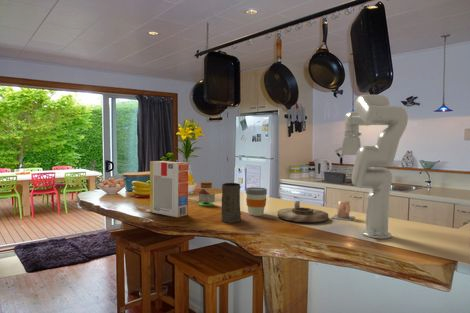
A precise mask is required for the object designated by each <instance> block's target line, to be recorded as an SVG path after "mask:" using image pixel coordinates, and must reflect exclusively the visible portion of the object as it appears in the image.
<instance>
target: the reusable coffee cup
mask: <svg viewBox="0 0 470 313" xmlns="http://www.w3.org/2000/svg"><path fill="white" fill-rule="evenodd" d="M267 191H268V189H267V188H265V187H258V186H257V187H253V186H252V187H246V188H245V195H246V198H245V202H246V206H247V214H248V215H250V216H254V217H255V216H256V217H258V216H263V215H264V213H265V207H266V204H267V194H268V192H267Z"/></svg>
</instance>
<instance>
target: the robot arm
mask: <svg viewBox="0 0 470 313" xmlns="http://www.w3.org/2000/svg"><path fill="white" fill-rule="evenodd" d="M354 105H355V106H354V107H355V111H349V112H347V113H346V114H345V115H344V137H342V141H341V147H339V148H337V149H334V152H335V154H336V156H338V158H339V164H340V165H341V166H343V157H344V156H355V159H354V163H353V169H352V173H351V183H352V185H353V186H354V187H355V188H360V189H361V188H362V189H370V190H369V192H368V194H367V196H366V209H365V211H366V212H365V214H366V215H365V229H363V230H361V234H362V236H364V237H368V238H372V239H378V240H379V239H380V240H381V239H383V240H385V239H387V240H388V239H390V238H392V233H390V232H389V215H390V214H389V210H390V208H389V207H390V194H391V193H390V191H391V187H392V186H391V185H392V182H393V173H392V172H391V170H390V169H389V167H391V166H392V165H393V163H394V161H395V159H396V158H395V157H396V154H397V152H398V151H397V150H398V146H399V143H400V140H401V138H402V136H403V134H404V132H405V130H406V129H407V125H408V121H409V120H408V119H409V118H408V116H409V114H408V111H407V110H406V109H405V108H403V107H401V106H396V105H390V99H389V98H388V97H386V96H385V95H383V94H361V95H359V96H358V97H357V98H356V100H355V104H354ZM360 126H367V127H368V126H387V127H386V128H385V129H383V130H382V131H381V133H380V134H379V135H378V137H377V141H376V144H375V145H364V146H361V137H360V136H362V132H360ZM339 152H341V154H340V153H339Z"/></svg>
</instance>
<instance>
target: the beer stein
mask: <svg viewBox="0 0 470 313" xmlns="http://www.w3.org/2000/svg"><path fill="white" fill-rule="evenodd" d="M241 187H242V186H241V184H240V183H238V182H237V183H236V182H225V183H222V184H221V191H222V192H221V217H220V218H221V219H220V221H222V222H223V223H226V224H228V223H229V224H232V223H239V222H240V221H242V215H241V214H242V213H241Z"/></svg>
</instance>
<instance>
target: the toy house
mask: <svg viewBox="0 0 470 313" xmlns="http://www.w3.org/2000/svg"><path fill="white" fill-rule="evenodd" d="M212 184H213V182H211V181H201V182H200V188H201V189H199V191H198V193H197V195H198V203H197V205H198V206H200V207H201V206H202V207H211V206H214V205H215V201H216V199H215V198H216V197H215V196H216V195H215V193H209V192H207V191H206V190H205V189H212V187H213V185H212Z"/></svg>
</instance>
